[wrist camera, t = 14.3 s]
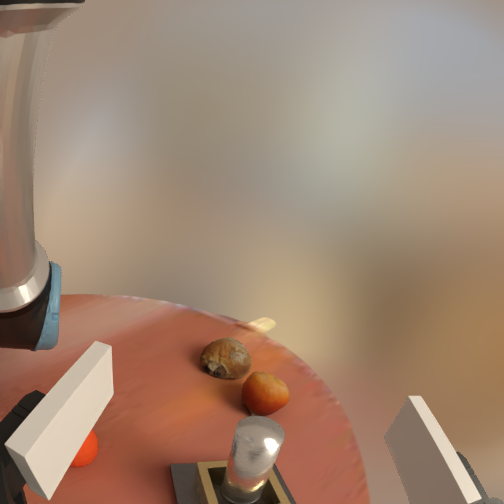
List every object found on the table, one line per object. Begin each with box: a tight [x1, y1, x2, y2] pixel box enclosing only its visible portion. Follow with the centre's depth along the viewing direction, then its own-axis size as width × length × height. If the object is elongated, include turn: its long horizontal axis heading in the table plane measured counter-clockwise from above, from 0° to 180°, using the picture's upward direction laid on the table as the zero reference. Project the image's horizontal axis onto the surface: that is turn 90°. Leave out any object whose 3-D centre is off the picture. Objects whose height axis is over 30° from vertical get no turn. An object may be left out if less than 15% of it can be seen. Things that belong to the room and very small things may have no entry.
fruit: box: [242, 372, 289, 416], centre depth 47 cm, size 8×8×8 cm
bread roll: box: [200, 337, 251, 380], centre depth 58 cm, size 10×10×8 cm
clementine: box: [70, 429, 98, 467], centre depth 27 cm, size 8×7×7 cm
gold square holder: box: [170, 460, 296, 504], centre depth 27 cm, size 14×14×5 cm
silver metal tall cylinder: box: [218, 416, 285, 504], centre depth 25 cm, size 5×5×14 cm
